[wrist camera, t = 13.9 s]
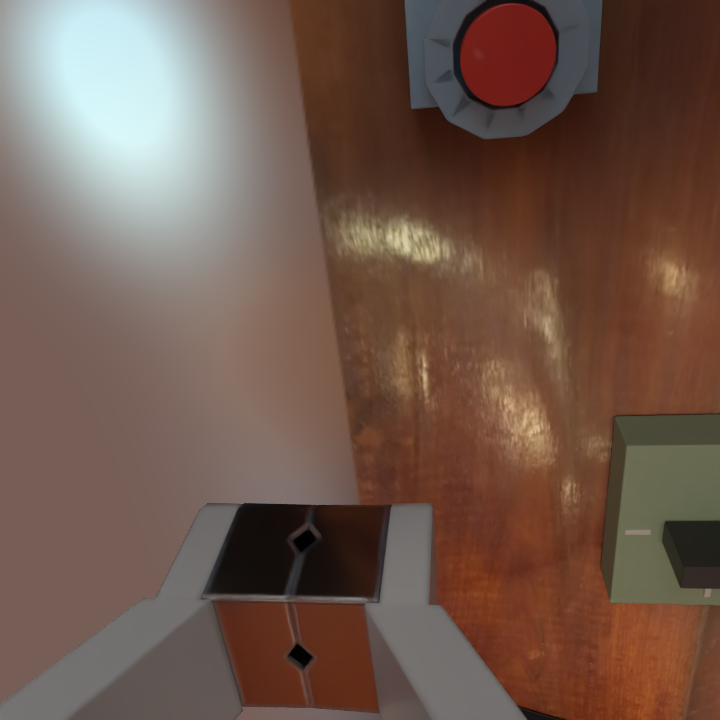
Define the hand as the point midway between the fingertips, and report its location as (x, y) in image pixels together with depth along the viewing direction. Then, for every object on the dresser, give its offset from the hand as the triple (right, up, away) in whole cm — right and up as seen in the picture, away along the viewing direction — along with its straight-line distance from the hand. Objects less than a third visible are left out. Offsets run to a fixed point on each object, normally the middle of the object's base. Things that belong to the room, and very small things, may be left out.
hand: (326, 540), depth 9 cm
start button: (+6, +15, +18) cm, 24 cm away
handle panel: (+21, -6, +31) cm, 38 cm away
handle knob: (+21, -7, +29) cm, 36 cm away
